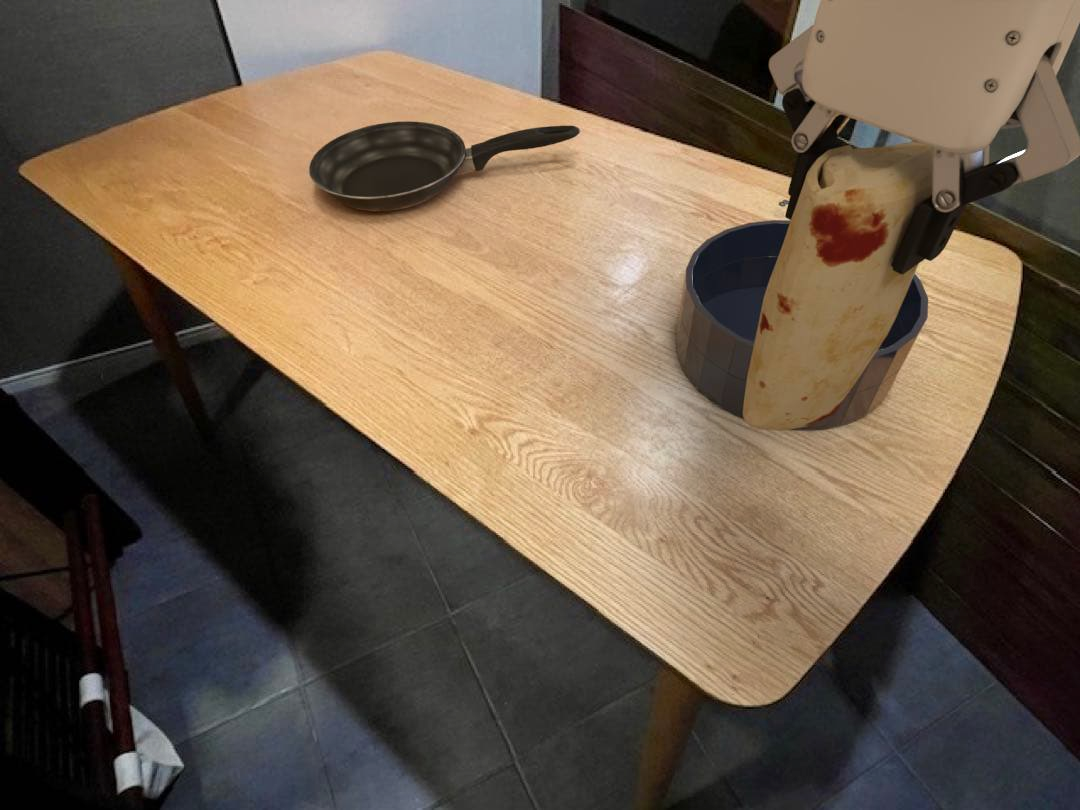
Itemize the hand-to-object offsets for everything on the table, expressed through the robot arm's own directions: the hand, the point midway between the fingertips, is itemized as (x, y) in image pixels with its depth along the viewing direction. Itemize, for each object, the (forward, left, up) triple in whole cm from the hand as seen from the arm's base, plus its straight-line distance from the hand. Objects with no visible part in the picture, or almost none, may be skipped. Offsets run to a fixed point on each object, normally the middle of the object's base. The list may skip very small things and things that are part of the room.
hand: (856, 233), depth 37 cm
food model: (0, 0, -15) cm, 15 cm away
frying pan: (+76, -11, -32) cm, 83 cm away
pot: (+13, -21, -31) cm, 40 cm away
